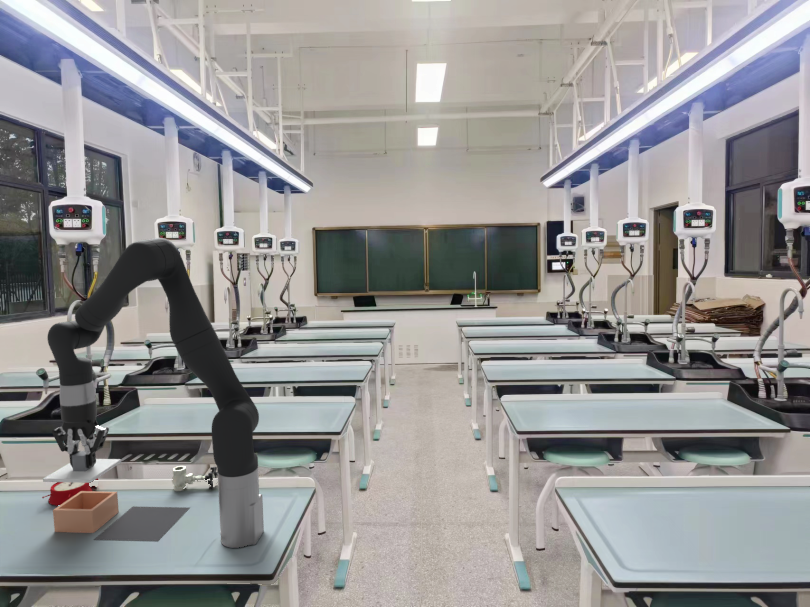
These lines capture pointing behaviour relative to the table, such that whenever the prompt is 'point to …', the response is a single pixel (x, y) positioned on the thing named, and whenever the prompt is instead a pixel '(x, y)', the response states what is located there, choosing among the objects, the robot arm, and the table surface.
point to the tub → (85, 512)
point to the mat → (143, 524)
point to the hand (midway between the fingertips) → (83, 466)
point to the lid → (81, 470)
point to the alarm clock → (66, 491)
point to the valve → (190, 477)
